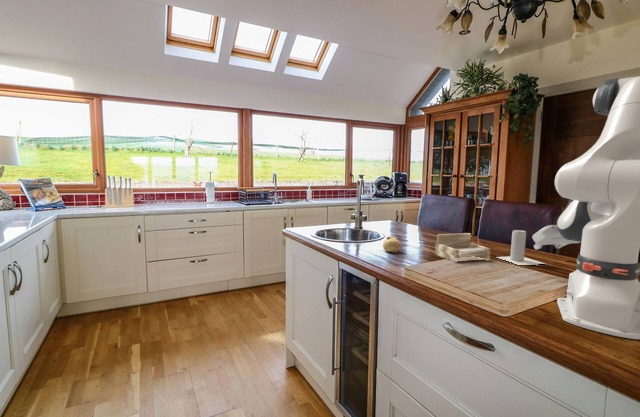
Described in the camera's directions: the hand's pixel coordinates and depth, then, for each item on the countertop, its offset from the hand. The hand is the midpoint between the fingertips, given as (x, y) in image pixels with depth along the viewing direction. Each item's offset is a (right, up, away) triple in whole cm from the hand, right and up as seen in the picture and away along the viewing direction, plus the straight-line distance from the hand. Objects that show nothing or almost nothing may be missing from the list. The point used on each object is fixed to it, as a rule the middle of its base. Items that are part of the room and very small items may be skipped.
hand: (546, 247), depth 122 cm
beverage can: (-4, -7, +12) cm, 14 cm away
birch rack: (-24, -6, +17) cm, 30 cm away
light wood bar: (-23, -7, +13) cm, 27 cm away
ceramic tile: (-3, -7, +12) cm, 14 cm away
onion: (-52, -5, +25) cm, 58 cm away
